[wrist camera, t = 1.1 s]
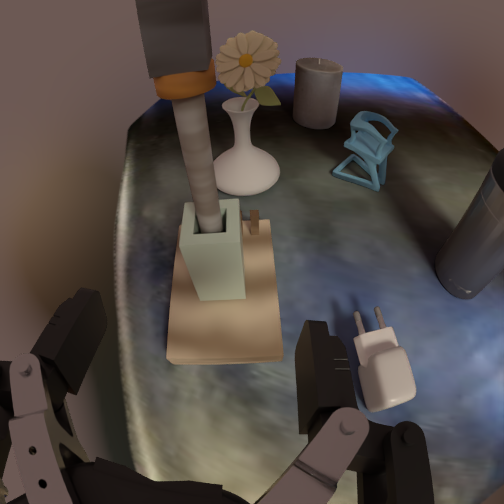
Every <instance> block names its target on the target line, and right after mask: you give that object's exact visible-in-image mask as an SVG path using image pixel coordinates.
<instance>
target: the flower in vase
mask: <svg viewBox="0 0 504 504" xmlns="http://www.w3.org/2000/svg"><path fill="white" fill-rule="evenodd" d="M277 47H278V44H277V43H276V42H273V40H272V39H271V38H268V37H267V36H264V35H263V34H261V33H256V32H255V31H250V32H249V33H246V34H245V35H244V34H243V33H239V34H238V35H237V36H236V37H234V38H229V39H228V40H227V43H226V45H222V46H221V47H220V54H218V55H217V56H216V59H217V60H216V62H215V63H216V65H218V66H217V68H216V70H217V72H220V74H219V76H218V79H219V80H220V82H221V83H224V85H225V86H226V87H227V88H228V89H229V90H231V91H232V92H234V93H237V94H239V95H241V96H244V97H237V98H232V99H229V100H227V101H225V102H224V103H223V104H222V107H223V109H224V110H225V111H226V112H227V113H228V114H229V116H230V117H231V120H232V123H233V127H234V133H235V144H234V146H233V147H232V148H231V149H229V150H227V151H225V152H224V153H222V154H221V155H220V156H219V157H217V158H216V159H215V161H214V162H213V164H214V171H215V178H216V184H217V188H218V189H219V190H221V191H222V192H224V193H227V194H230V195H235V196H250V195H255V194H259V193H262V192H264V191H266V190H268V189H269V188H270V187H271V186H273V185H274V184H275V183H276V181H277V180H278V178H279V175H280V168H279V166H278V163H277V161H276V160H275V159H274V158H273V157H272V156H271V155H270V154H268V153H267V152H265V151H264V150H261V149H259V148H257V147H254V146H253V145H252V144H251V140H250V123H251V118H252V115H253V113H254V111H255V110H256V109H257V107H258V106H259V103H260V104H261V105H265V106H273V105H281V103H280V101H279V100H278V98H277V96H276V95H275V93H274V92H273V90H272V89H271V88H270V87H269V86H265V84H266V83H268V82H269V80H270V76H273V75H274V74H275V72H276V69H277V68H278V65H280V64H281V59H280V58H277V56H279V51H278V50H276V49H277ZM253 87H254V88H253ZM252 88H253V90H252V91H251V93H250V94H249V95H248V97H247V96H246V94H245V93H244V92H243V91H248V90H249V89H252ZM254 91H255V96H256V98H257V100H258V101H257V100H255V99H253V98H250V97H251V95H252V94H253V93H254Z"/></svg>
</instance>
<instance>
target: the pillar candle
mask: <svg viewBox="0 0 504 504" xmlns="http://www.w3.org/2000/svg"><path fill="white" fill-rule="evenodd" d="M342 72H343V67H342V66H341V65H339V64H337V63H335V62H333V61H329V60H326V59H320V58H303V59H299V60H297V61H296V70H295V89H294V103H293V119H294V121H295V122H296V123H298V124H299V125H302V126H304V127H307V128H311V129H328V128H330V127H331V126H333V125H334V124H335V121H336V114H337V108H338V101H339V95H340V87H341V79H342Z"/></svg>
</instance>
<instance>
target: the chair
mask: <svg viewBox="0 0 504 504" xmlns="http://www.w3.org/2000/svg"><path fill="white" fill-rule="evenodd" d="M369 120H376V121H380V122H382V123H383V124H385V125H386V126H387V127H388V128H389V130H390V131H391V132H392V133H391V134H390V135H389V136H388V138H387V140H386V139H385V138H384V137H382V136H381V134H380V133H379V132H378V131H377V130H376V129H375V128H374V127H373V126H372V125H371V124H369V123H368V121H369ZM350 125H351V138H349V139H348V140H346V141H345V143H344V147H346V148H348V149H350V150H352V151H354V152H355V153H357V154H358V155H359V156H361V157H362V158H363V159H364V161H365V162H366V163H365V162H364V161H363V160H361V159H360V158H359V157H358V156H356V155H354V154H351V155H350V156H349V157H348V158H347V159H346V160H344V161H343V162H342V163H341V164H340V165H339V166H338V167H336V168H335V169H334V170H333V173H332V176H334V177H337V178H339V179H342V180H346V181H349V182H352V183H355V184H358V185H361V186H364V187H367V188H369V189H372V190H374V191H377V192H378V191H379V189H380V184H382V185H384V184H385V180H386V166H387V156H388V154H389V153H391V151H392V150H393V149H394V145H392V144H391V141H392V138H393V137H394V135H395V134H396V133H397V132H398V129H396V128H395V127H394V126H393V125H392V124H391V123H390V122H389V121H388V120H387V119H386V118H385V117H384V116H381V115H379V114H376V113H373V112H367V111H361V112H359V113H358V114H357V115H356V116H355V117H354V118H353V120H352V121H351V123H350ZM355 130H359V131H358V132H357V133H356V132H355ZM352 160H354V161H355V162H356V163H357V164H358V165H360V166H361V167H362V168H363V169H364V170H365V171H366V172H367V173H368V174H369V175H370V176H371V179H372V181H369V180H366V179H362V178H359V177H356V176H352V175H349V174H345V173H342V172H340V171H341V170H342V169H343V168H344V167H345V166H346V165H347V164H348V163H350V162H351V161H352ZM377 164H378V165H379V174H378V173H377V171H376V165H377ZM379 183H380V184H379Z"/></svg>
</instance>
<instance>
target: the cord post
mask: <svg viewBox="0 0 504 504" xmlns="http://www.w3.org/2000/svg"><path fill="white" fill-rule="evenodd" d="M136 7H137V14H138V20H139V25H140V31H141V37H142V42H143V47H144V52H145V57H146V63H147V68H148V72H149V77H150V78H153V79H154V83H155V88H156V93H157V96H158V97H160V98H163V99H171V100H172V105H173V110H174V115H175V120H176V125H177V130H178V134H179V139H180V144H181V149H182V153H183V158H184V162H185V167H186V171H187V176H188V180H189V184H190V189H191V193H192V197H193V201H194V205H195V210H196V214H197V218H198V222H199V226H200V230H201V234H208V233H224V230H223V224H222V217H221V211H220V204H219V198H218V191H217V184H216V178H215V171H214V164H213V157H212V150H211V143H210V136H209V128H208V121H207V113H206V106H205V98H204V93H205V92H207V91H209V90H211V89H212V88H214V87H215V85H216V77H215V66H214V60H213V59H212V47H211V36H210V25H209V14H208V2H207V0H136ZM240 218H241V230H242V241H243V253H244V268H245V292H246V299H233V300H210V301H200V299H199V297H198V294H197V292H196V289H195V287H194V284H193V282H192V279H191V276H190V274H189V271H188V269H187V266H186V263H185V261H184V258H183V255H182V253H181V250H180V247H179V241H180V234H181V226H182V225H179V232H178V239H177V247H176V255H175V263H174V272H173V281H172V291H171V302H170V313H169V326H168V340H167V357H166V358H167V359H168V360H169V361H170V362H171V363H172V364H242V363H261V362H276V361H282V359H283V344H282V334H281V324H280V313H279V304H278V294H277V284H276V275H275V265H274V256H273V247H272V238H271V230H270V221H269V219H268V220H259V212H258V210H250V220H249V221H242V211H240Z"/></svg>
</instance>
